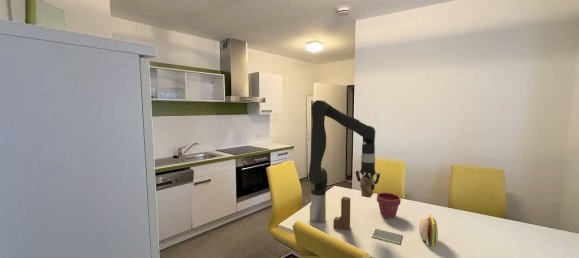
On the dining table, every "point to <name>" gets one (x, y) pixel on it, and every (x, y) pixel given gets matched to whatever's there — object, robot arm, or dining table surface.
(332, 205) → the dining table surface
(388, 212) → the plant pot
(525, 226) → the dining table surface
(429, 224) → the hamburger
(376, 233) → the mat
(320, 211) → the robot arm
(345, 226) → the wooden block
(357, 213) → the dining table surface
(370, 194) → the walnut block
